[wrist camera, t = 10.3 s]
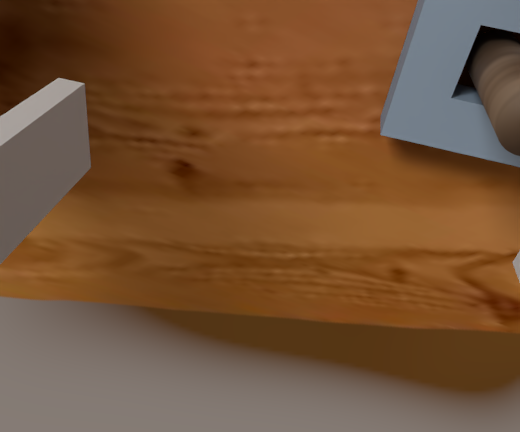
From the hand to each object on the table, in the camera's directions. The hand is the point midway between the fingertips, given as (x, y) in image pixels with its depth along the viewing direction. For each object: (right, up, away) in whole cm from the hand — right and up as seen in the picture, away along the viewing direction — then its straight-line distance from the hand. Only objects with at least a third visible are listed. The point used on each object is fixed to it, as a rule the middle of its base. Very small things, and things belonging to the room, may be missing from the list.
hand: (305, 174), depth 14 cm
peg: (+17, +12, +25) cm, 33 cm away
